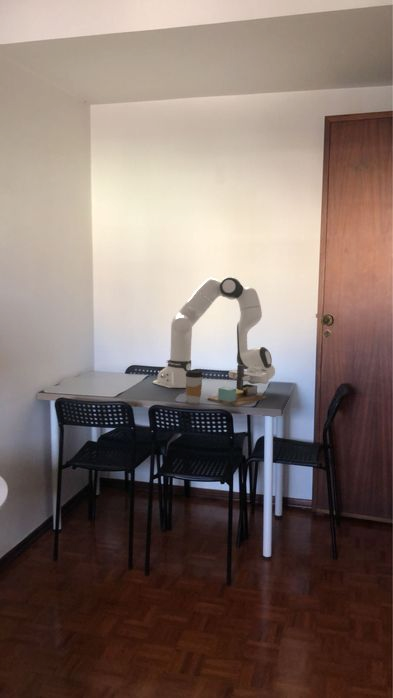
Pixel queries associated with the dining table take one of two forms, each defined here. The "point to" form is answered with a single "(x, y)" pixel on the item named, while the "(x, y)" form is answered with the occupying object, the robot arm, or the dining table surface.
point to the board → (239, 400)
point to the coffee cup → (193, 385)
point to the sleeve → (250, 390)
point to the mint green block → (227, 394)
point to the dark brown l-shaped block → (240, 381)
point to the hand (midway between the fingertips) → (239, 378)
